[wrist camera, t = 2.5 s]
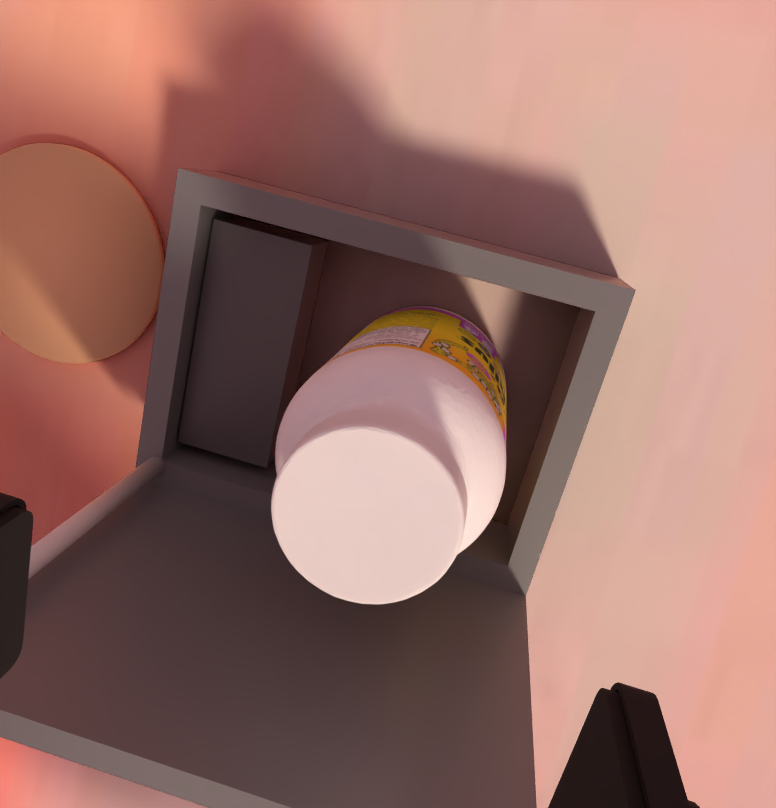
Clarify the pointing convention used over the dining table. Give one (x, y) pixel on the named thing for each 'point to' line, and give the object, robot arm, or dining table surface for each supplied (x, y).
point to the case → (268, 565)
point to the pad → (74, 254)
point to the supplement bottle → (392, 457)
